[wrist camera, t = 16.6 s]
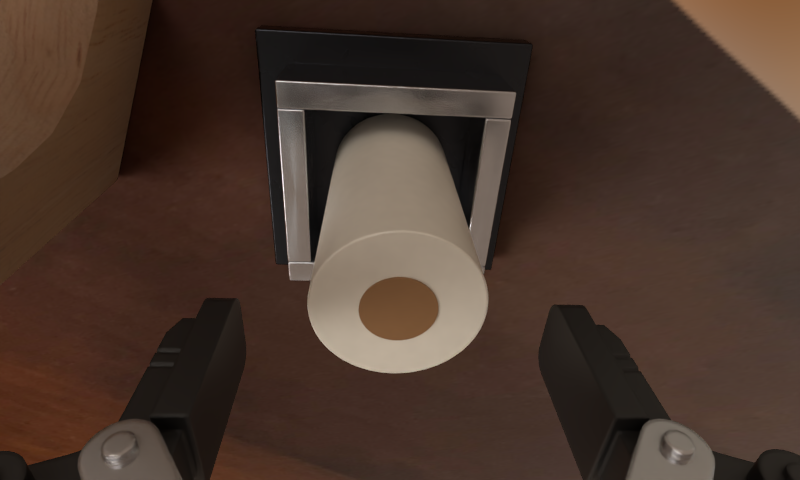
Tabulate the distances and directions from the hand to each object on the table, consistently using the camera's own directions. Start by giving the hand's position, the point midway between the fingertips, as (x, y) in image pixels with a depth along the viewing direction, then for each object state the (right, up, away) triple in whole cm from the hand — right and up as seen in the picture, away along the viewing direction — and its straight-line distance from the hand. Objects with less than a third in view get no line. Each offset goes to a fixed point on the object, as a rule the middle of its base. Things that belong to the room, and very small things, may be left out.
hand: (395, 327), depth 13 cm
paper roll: (0, +6, +9) cm, 11 cm away
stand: (0, +6, +10) cm, 12 cm away
